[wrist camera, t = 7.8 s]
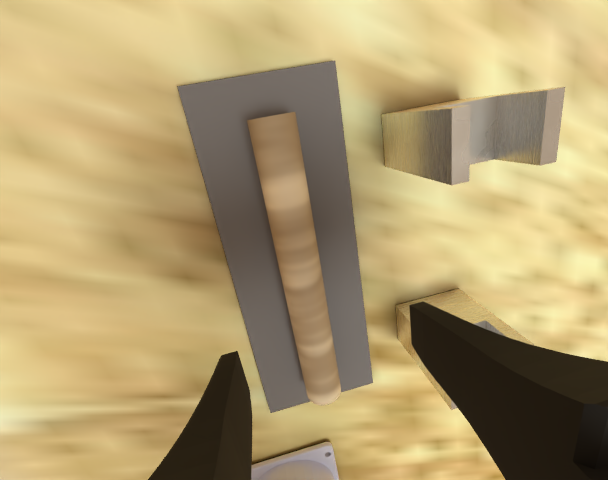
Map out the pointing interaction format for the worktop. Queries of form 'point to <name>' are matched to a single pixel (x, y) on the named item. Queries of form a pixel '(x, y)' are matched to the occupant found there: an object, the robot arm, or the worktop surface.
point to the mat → (255, 224)
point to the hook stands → (455, 169)
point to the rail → (296, 250)
